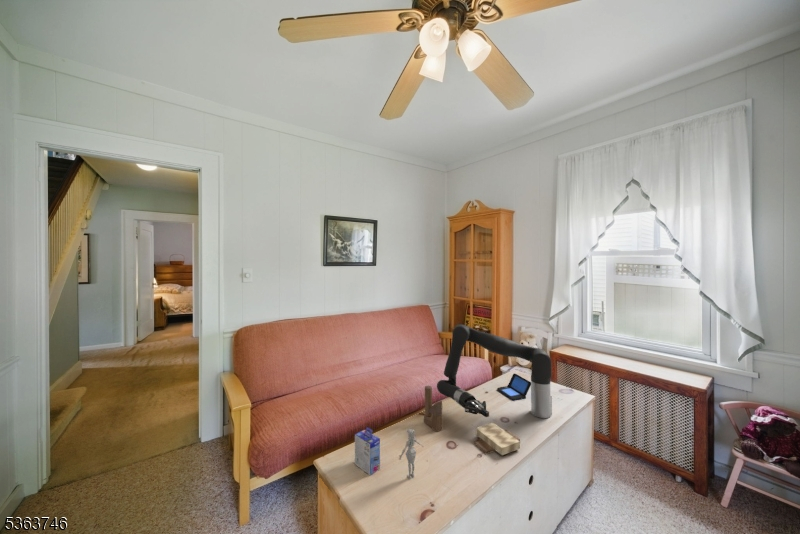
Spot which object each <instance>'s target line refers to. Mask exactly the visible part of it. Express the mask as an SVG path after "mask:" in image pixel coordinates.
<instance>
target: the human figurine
mask: <svg viewBox="0 0 800 534" xmlns="http://www.w3.org/2000/svg"><path fill="white" fill-rule="evenodd" d="M406 433H407V436H408V440H407V441H405V442H406V443H405V447H404V448H403V449H402V452H401V454H400V455H399V458H398V461H401V460H402V457H403V455H404V454H405V455H406V456H405V458H406V460H407V463H408V464H407V466H408V474H406V478H408V479H409V480H410V479H412V478H413V477H415V473H414V472H415V471H414V470H415V462H416V461H415V460H416V454H417V450H416V448H415V447H414V446H415V443H416V444H417V445H420V446H422V447H424V445H423V444H421V443H420V441H418V440H417V439H416V431H415V429H410V428H409V429H407V431H406Z"/></svg>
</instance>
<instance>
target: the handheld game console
mask: <svg viewBox="0 0 800 534" xmlns="http://www.w3.org/2000/svg"><path fill="white" fill-rule="evenodd" d="M530 389H531V380H530V381H529V380H528V379H527V378H524V377H522V376H521V375H518V374H516V373H513V374H512V376H511V379H510V380H509V382H508V384H507V385H506V386H500V387H499V386H498V387H497V388H496V390H497V391H498V392H500V393H501V394H503V396H505V397H506V398H508V399H509V400H511V401H520V400H525V399H527V397H526V396H527V394H528V392H529V390H530Z"/></svg>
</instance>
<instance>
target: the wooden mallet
mask: <svg viewBox="0 0 800 534" xmlns="http://www.w3.org/2000/svg"><path fill="white" fill-rule="evenodd" d="M423 422H424V423H425V424H426V425H427V426H429V427H430V428H432V430H434V431H435V432H440V431H443V401H442V400H440V401H436V402H435V403H434V404H433V388H432V386H431V385H426V386H424V414H423Z"/></svg>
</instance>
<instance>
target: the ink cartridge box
mask: <svg viewBox="0 0 800 534" xmlns="http://www.w3.org/2000/svg"><path fill="white" fill-rule="evenodd" d="M373 431H374V430H373V429H371V428H370V427H366V429H362V430H361V431H359V432H356V433H355V434H354V465H356V466H357V467H358V468H359V469H361V470H362V471H364V472H365V473H366V474H367V475H369V476H371V475H373V474H375V473H376V472H378V471H380V469H381V444H380V443H381V440H380V439H381V438H380V437H378V436H377V435H374V434H373ZM377 470H378V471H377Z"/></svg>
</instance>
